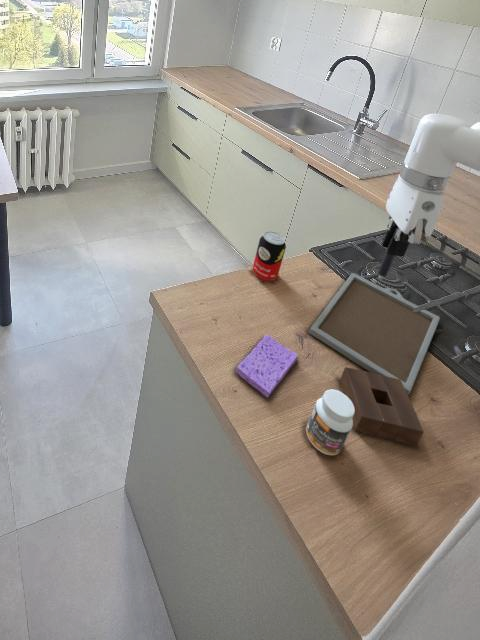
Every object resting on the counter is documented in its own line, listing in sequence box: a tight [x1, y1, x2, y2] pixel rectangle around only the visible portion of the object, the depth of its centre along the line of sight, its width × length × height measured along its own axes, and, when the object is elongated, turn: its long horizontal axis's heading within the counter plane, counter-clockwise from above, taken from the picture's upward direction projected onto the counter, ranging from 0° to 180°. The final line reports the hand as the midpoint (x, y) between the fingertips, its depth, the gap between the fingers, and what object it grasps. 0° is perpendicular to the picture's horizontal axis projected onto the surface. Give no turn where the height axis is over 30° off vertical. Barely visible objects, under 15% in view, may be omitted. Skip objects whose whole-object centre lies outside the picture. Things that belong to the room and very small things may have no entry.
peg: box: [377, 228, 405, 280], centre depth 89 cm, size 2×2×13 cm
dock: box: [339, 366, 425, 446], centre depth 78 cm, size 10×10×4 cm
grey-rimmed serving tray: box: [308, 272, 441, 396], centre depth 97 cm, size 19×2×30 cm
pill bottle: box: [305, 389, 355, 456], centre depth 71 cm, size 6×6×10 cm
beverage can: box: [252, 231, 287, 281], centre depth 108 cm, size 6×6×12 cm
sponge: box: [235, 333, 299, 399], centre depth 85 cm, size 7×13×2 cm, turn 132°
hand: (392, 250), depth 89 cm, fingers closed on peg, 1 cm apart
